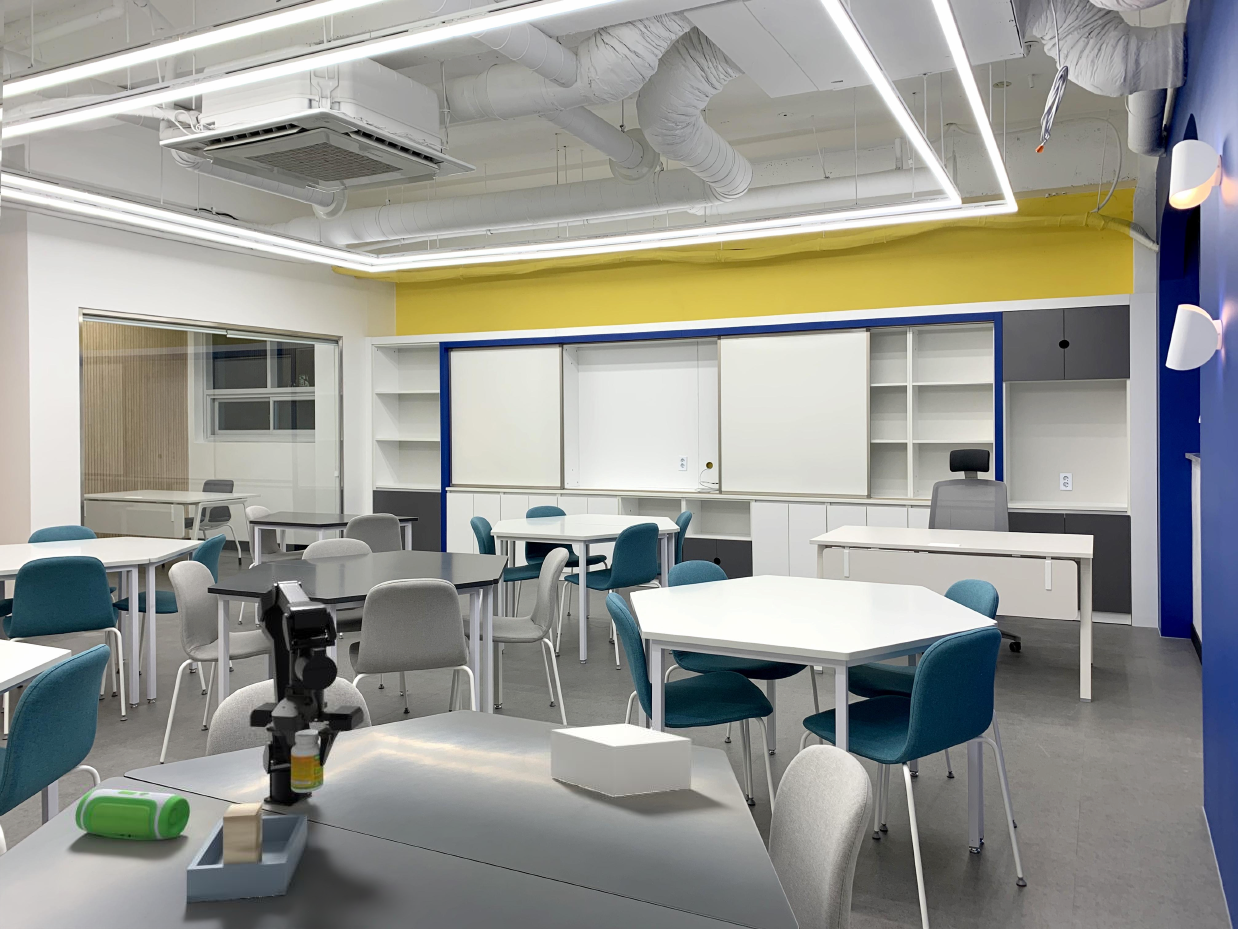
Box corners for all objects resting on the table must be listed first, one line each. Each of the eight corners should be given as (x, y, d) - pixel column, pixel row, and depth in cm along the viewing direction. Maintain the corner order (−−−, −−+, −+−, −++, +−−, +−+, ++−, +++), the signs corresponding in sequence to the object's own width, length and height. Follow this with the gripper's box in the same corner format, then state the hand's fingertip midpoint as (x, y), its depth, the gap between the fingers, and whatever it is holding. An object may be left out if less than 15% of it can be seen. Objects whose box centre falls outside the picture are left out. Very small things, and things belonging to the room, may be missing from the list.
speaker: (192, 830, 155) (192, 788, 155) (164, 848, 148) (164, 804, 148) (104, 822, 158) (103, 781, 158) (72, 840, 151) (72, 797, 151)
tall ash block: (231, 873, 137) (231, 804, 137) (262, 871, 138) (262, 802, 138) (223, 888, 133) (223, 816, 132) (254, 886, 133) (255, 815, 133)
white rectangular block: (687, 804, 168) (688, 751, 168) (541, 792, 173) (542, 741, 173) (693, 776, 183) (694, 727, 182) (559, 766, 188) (559, 719, 187)
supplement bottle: (317, 793, 151) (317, 737, 151) (286, 793, 151) (286, 738, 151) (327, 781, 157) (327, 727, 157) (297, 781, 157) (297, 728, 156)
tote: (220, 848, 148) (220, 818, 148) (307, 842, 150) (307, 813, 150) (186, 902, 130) (186, 869, 130) (285, 895, 133) (285, 863, 132)
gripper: (231, 687, 147) (231, 779, 147) (337, 691, 144) (337, 785, 145) (266, 670, 158) (266, 756, 158) (364, 674, 155) (364, 761, 156)
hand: (307, 764), depth 154 cm, fingers closed on supplement bottle, 5 cm apart
